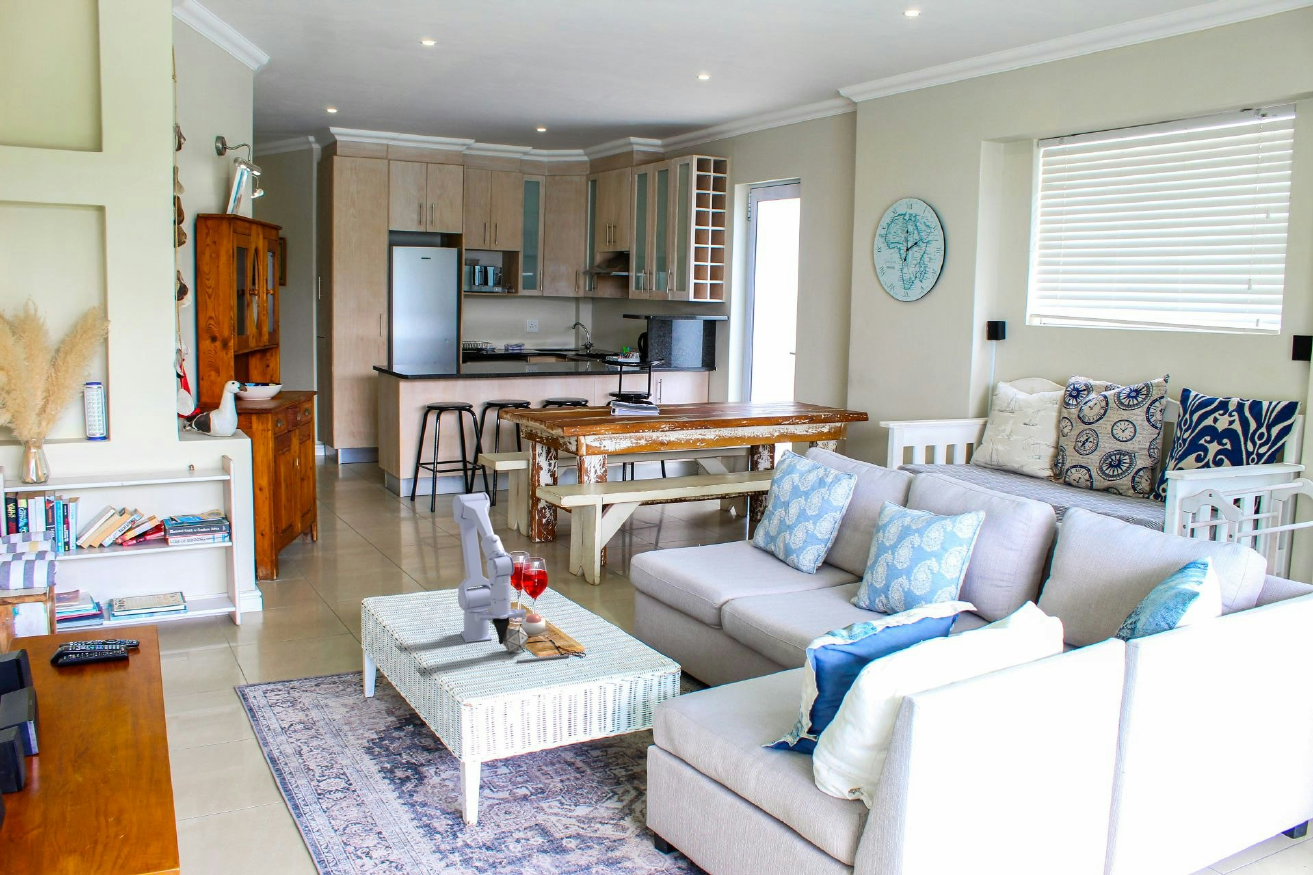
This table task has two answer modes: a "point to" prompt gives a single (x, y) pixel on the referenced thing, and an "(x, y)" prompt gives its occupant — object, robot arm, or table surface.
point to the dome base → (540, 633)
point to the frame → (543, 658)
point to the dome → (533, 624)
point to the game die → (515, 639)
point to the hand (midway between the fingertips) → (500, 643)
